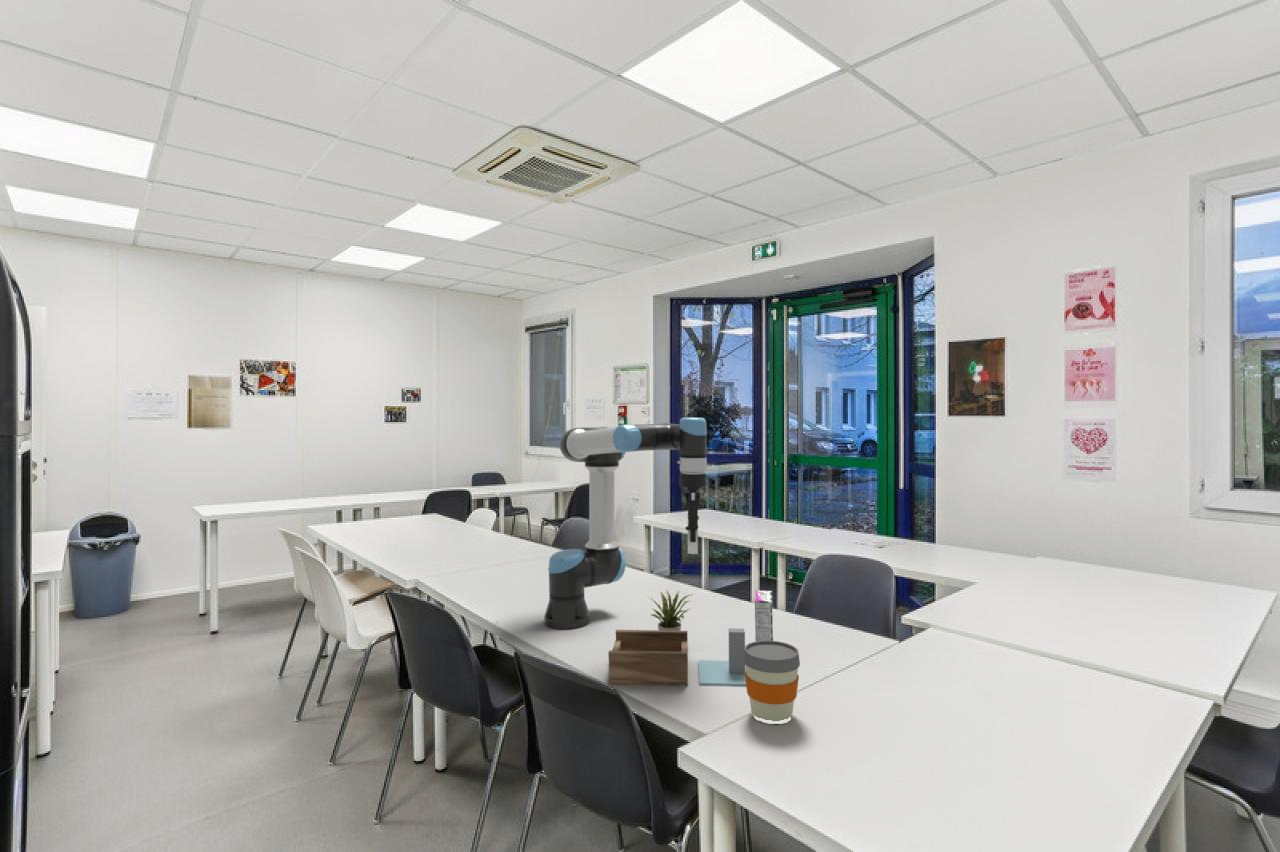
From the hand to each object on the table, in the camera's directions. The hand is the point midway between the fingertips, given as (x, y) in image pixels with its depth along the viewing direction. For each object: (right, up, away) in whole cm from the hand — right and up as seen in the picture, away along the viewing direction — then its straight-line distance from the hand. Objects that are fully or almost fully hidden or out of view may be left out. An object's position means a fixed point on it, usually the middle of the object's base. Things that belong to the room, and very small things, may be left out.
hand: (692, 547), depth 178 cm
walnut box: (-12, -31, -9) cm, 35 cm away
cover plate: (+11, -32, -11) cm, 35 cm away
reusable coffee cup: (+15, -32, -34) cm, 49 cm away
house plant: (-5, -31, +10) cm, 33 cm away
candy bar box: (+21, -31, +4) cm, 38 cm away
